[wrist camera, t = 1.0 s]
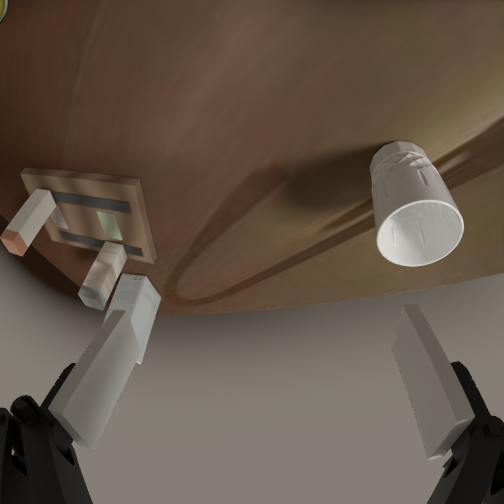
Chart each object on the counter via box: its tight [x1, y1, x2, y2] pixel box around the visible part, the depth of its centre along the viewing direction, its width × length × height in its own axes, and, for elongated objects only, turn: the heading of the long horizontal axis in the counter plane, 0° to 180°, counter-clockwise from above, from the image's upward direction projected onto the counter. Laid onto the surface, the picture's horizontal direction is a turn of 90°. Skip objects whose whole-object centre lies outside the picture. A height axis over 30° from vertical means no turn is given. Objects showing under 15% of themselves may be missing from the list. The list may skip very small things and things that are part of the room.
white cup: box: [370, 141, 464, 266], centre depth 25 cm, size 8×8×10 cm
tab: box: [0, 189, 56, 256], centre depth 35 cm, size 3×3×10 cm
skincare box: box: [103, 273, 161, 364], centre depth 52 cm, size 8×6×15 cm
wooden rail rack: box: [20, 168, 157, 310], centre depth 38 cm, size 22×16×12 cm
